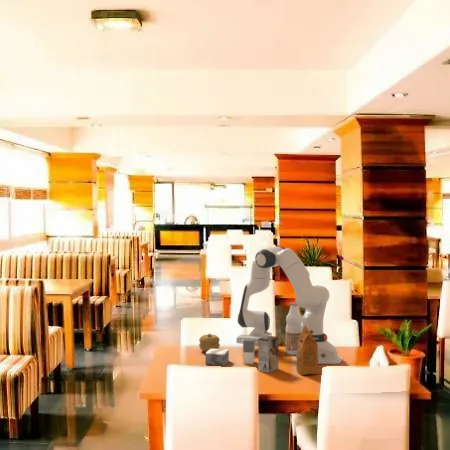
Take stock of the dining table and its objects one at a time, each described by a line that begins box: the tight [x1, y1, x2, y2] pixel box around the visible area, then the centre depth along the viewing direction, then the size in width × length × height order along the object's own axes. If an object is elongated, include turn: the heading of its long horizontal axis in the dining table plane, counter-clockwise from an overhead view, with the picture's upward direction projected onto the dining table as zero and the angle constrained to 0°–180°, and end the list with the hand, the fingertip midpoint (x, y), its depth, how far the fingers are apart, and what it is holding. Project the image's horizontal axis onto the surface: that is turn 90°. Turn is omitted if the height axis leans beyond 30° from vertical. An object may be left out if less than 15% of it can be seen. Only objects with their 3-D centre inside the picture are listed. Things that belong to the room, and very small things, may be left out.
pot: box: [198, 333, 221, 353], centre depth 316 cm, size 12×12×10 cm
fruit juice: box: [285, 302, 303, 356], centre depth 312 cm, size 9×9×28 cm
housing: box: [242, 339, 255, 365], centre depth 293 cm, size 5×5×12 cm
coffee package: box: [295, 326, 319, 376], centre depth 275 cm, size 10×12×22 cm
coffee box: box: [257, 335, 279, 374], centre depth 279 cm, size 9×6×16 cm
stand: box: [205, 348, 230, 367], centre depth 293 cm, size 10×10×6 cm
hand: (252, 343), depth 305 cm, fingers open, 8 cm apart
